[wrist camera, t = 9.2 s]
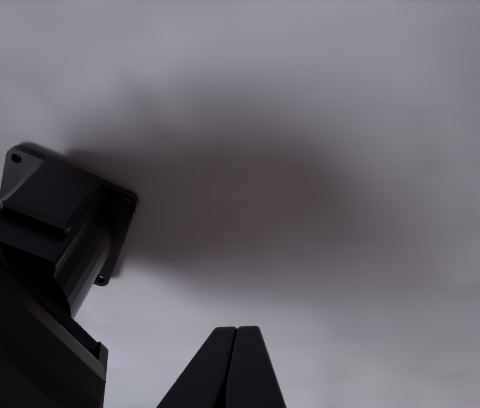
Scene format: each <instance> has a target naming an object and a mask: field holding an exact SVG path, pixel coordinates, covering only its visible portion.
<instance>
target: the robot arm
mask: <svg viewBox="0 0 480 408" xmlns="http://www.w3.org/2000/svg"><path fill="white" fill-rule="evenodd" d="M16 154H18V155H19V156H20V157H21V158H22V160H21V159H19V158H17V156H16ZM124 199H128V200H130V201H131V204H129V203H127V202H125V200H124ZM138 203H139V199H138V196H137V195H136V194H135V193H134V192H132V191H130V190H127V189H125V188H122V187H120V186H117V185H115V184H113V183H110V182H108V181H105V180H103V179H100V178H99V177H98V176H95V175H93V174H90V173H88V172H86V171H83V170H81V169H78V168H76V167H73V166H71V165H69V164H66V163H64V162H61V161H59V160H56V159H54V158H51V157H50V158H49V157H47V156H44V155H42V154H40V153H37V152H35V151H32V150H30V149H27V148H25V147H23V146H19V145H18V146H14V147H12V148H11V149H10V150H9V151H7V154H6V158H5V164H4V170H3V177H2V183H1V189H0V408H103V404H104V393H105V384H106V371H107V360H108V349H107V348H106V347H105V346H104V345H103V344H102V343H101V342H96V341H95V340H94V339H93V338H92V337H91V336H90V335H89V334H88V333H87V332H86V331H85V330H84V329H83V328H82V327H81V326H80V325H79V324H78V323H77V322H76V321H75V320H74V317H75V316H76V314H77V312H78V310H79V308H80V307H81V305H82V303H83V301H84V299H85V297H86V296H87V294H88V292H89V290H90V288H91V286H92V285H93V284H95V285H98V286H105V285H107V284H108V283H109V281H110V279H111V276H112V273H113V271H114V268H115V265H116V263H117V260H118V257H119V255H120V252H121V249H122V246H123V244H124V241H125V238H126V236H127V233H128V230H129V228H130V225H131V222H132V219H133V217H134V214H135V211H136V209H137V206H138ZM99 276H102V277H103V278H101V277H99ZM156 408H287V407H286V405H285V402H284V399H283V396H282V393H281V390H280V387H279V384H278V381H277V378H276V375H275V372H274V369H273V366H272V363H271V360H270V357H269V354H268V351H267V348H266V346H265V343H264V340H263V337H262V334H261V331H260V328H259V327H258V326H240V327H239V328H238V329H237V328H236V327H217V328H215V329H214V330H213V332H212V333H211V334H210V336H209V337H208V338H207V340H206V341H205V342H204V344H203V345H202V346H201V348H200V349H199V350H198V352H197V353H196V355H195V356H194V357H193V359H192V360H191V361H190V363H189V364H188V365H187V367H186V368H185V369H184V371H183V372H182V374H181V375H180V376H179V378H178V379H177V380H176V382H175V383H174V384H173V386H172V387H171V388H170V390H169V391H168V392H167V394H166V395H165V397H164V398H163V399H162V401H161V402H160V403H159V405H158V406H157V407H156Z"/></svg>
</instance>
